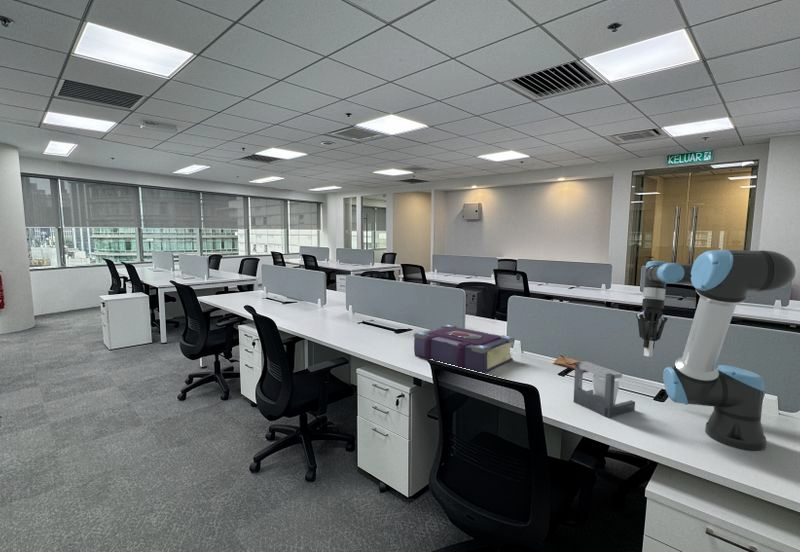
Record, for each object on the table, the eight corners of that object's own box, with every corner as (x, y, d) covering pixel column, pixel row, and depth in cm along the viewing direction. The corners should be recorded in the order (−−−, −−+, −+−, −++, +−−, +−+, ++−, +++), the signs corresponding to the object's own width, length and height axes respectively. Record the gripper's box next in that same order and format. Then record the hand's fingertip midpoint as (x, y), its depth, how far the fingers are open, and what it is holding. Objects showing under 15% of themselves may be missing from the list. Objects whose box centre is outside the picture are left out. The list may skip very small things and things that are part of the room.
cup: (590, 408, 148) (592, 378, 147) (591, 400, 156) (593, 371, 155) (617, 414, 144) (619, 383, 143) (617, 405, 152) (619, 375, 151)
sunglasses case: (550, 363, 202) (554, 351, 204) (556, 367, 206) (560, 356, 208) (583, 373, 188) (588, 360, 189) (589, 377, 192) (593, 365, 193)
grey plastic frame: (599, 395, 161) (601, 358, 159) (635, 410, 147) (637, 370, 145) (573, 401, 155) (575, 363, 153) (608, 418, 141) (611, 375, 139)
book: (481, 376, 184) (481, 347, 183) (410, 356, 215) (411, 331, 213) (513, 360, 208) (514, 335, 207) (446, 344, 239) (446, 322, 237)
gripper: (659, 300, 163) (654, 356, 162) (632, 296, 161) (626, 353, 160) (675, 301, 155) (669, 359, 154) (646, 297, 153) (640, 356, 152)
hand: (647, 356), depth 157 cm, fingers closed
